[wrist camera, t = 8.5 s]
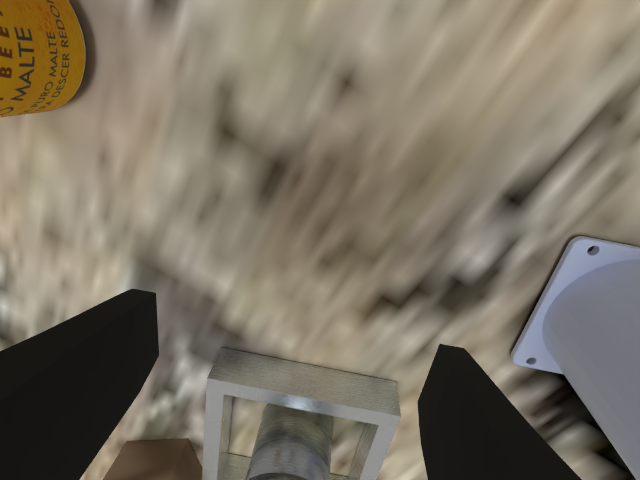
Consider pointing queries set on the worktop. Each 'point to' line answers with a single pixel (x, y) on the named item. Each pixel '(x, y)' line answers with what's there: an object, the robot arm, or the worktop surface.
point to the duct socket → (296, 407)
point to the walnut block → (156, 461)
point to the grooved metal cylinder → (292, 445)
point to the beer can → (39, 55)
